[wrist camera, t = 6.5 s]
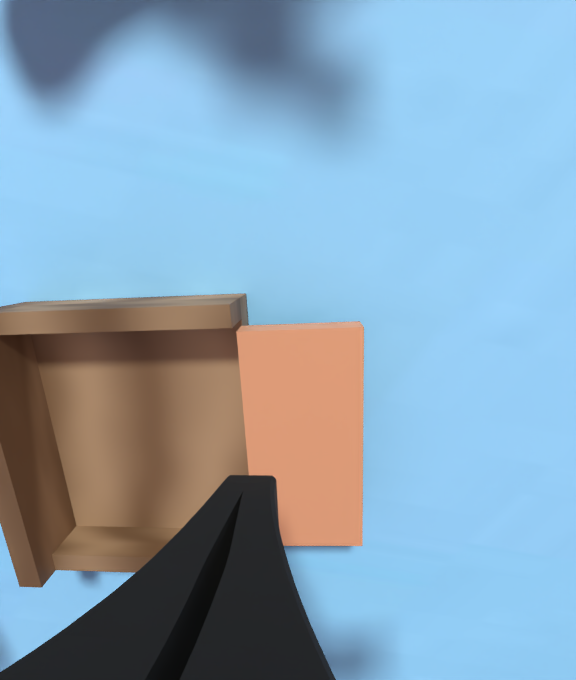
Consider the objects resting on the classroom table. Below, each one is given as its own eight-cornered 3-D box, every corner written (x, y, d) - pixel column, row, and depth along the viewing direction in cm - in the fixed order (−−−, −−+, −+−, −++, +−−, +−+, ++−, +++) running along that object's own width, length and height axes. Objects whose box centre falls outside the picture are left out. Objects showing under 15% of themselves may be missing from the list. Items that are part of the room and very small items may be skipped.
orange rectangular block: (255, 545, 18) (362, 545, 18) (236, 331, 15) (363, 327, 15) (257, 527, 19) (358, 527, 19) (241, 325, 16) (359, 321, 16)
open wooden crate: (77, 520, 22) (19, 586, 18) (25, 301, 19) (-62, 318, 14) (263, 523, 21) (250, 594, 17) (246, 293, 18) (223, 308, 13)
